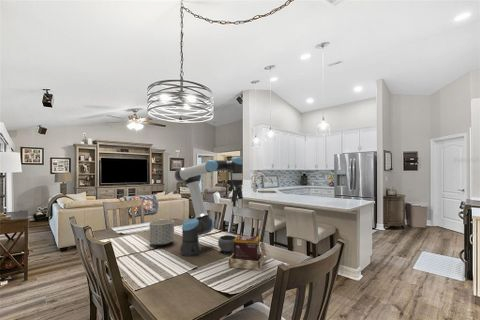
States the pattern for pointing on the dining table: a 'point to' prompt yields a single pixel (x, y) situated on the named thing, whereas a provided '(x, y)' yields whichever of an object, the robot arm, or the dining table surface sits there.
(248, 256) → the supplement box
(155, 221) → the planter
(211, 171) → the robot arm
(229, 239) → the bowl
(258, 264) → the crate
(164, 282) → the dining table surface
